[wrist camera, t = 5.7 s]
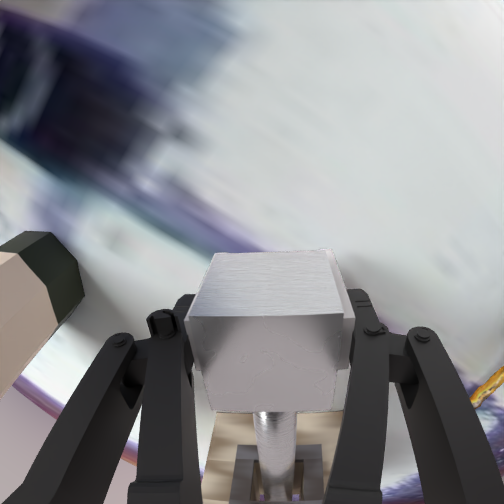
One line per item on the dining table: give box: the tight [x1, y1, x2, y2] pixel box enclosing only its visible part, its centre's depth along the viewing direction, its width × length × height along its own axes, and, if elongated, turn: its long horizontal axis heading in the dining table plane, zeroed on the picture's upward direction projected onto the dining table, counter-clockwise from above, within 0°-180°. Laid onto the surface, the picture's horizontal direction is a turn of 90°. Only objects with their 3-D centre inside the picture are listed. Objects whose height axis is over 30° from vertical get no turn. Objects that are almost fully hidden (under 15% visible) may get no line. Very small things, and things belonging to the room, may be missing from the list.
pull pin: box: [189, 250, 344, 501], centre depth 17 cm, size 5×26×5 cm, turn 4°
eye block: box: [201, 411, 343, 504], centre depth 22 cm, size 12×9×12 cm
